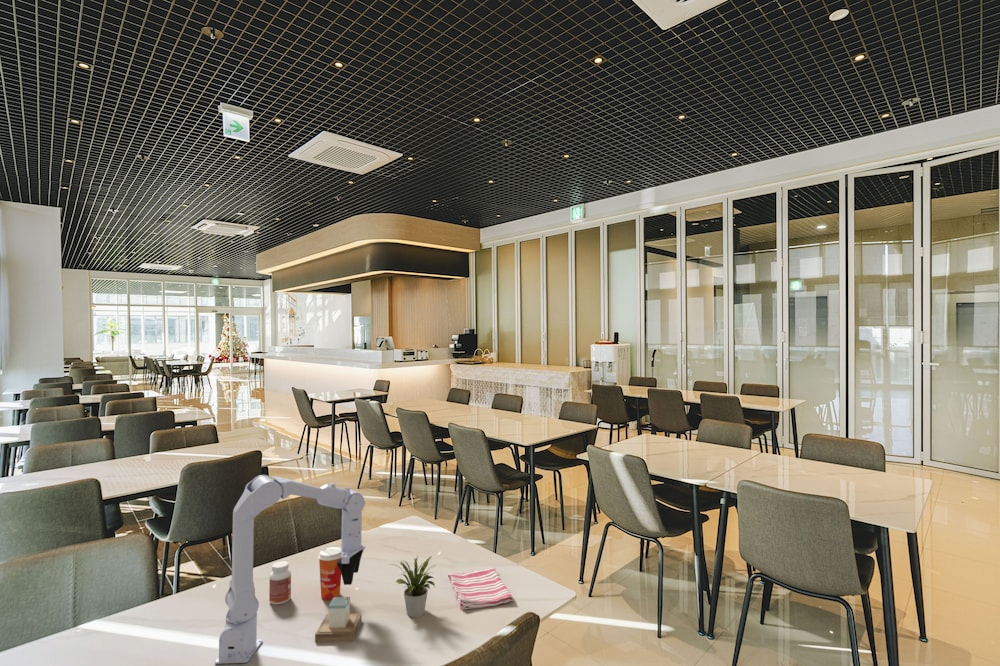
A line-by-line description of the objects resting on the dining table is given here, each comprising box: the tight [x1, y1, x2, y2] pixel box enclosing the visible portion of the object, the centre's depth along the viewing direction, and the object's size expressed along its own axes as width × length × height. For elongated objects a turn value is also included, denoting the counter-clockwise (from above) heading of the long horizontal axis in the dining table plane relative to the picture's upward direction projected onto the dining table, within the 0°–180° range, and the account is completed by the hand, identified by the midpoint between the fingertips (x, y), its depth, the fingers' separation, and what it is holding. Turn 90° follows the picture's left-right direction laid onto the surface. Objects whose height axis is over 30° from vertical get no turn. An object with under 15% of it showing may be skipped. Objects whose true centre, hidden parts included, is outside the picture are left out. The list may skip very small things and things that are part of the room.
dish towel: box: [447, 567, 514, 610], centre depth 163 cm, size 17×23×4 cm
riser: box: [314, 613, 362, 643], centre depth 139 cm, size 10×10×2 cm
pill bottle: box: [268, 560, 292, 605], centre depth 156 cm, size 6×6×11 cm
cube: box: [328, 596, 351, 628], centre depth 139 cm, size 5×5×6 cm
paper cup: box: [317, 546, 342, 601], centre depth 159 cm, size 8×8×14 cm
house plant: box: [387, 555, 437, 618], centre depth 148 cm, size 14×14×16 cm
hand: (351, 578), depth 148 cm, fingers open, 7 cm apart
